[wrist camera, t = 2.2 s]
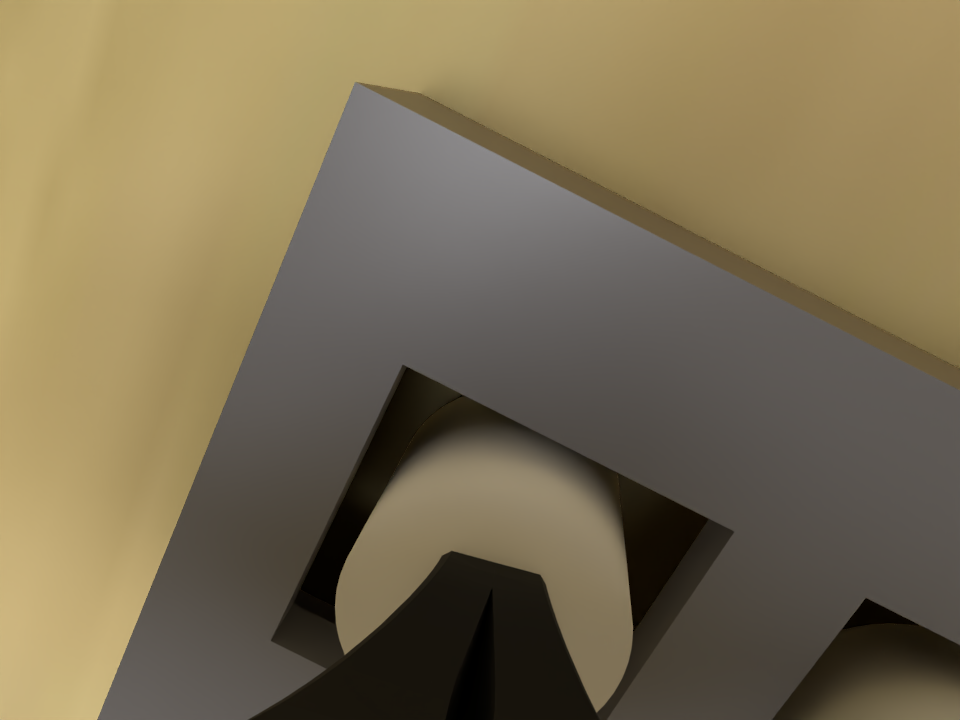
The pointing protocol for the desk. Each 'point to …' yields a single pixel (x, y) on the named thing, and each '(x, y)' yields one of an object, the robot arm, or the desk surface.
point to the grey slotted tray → (556, 424)
